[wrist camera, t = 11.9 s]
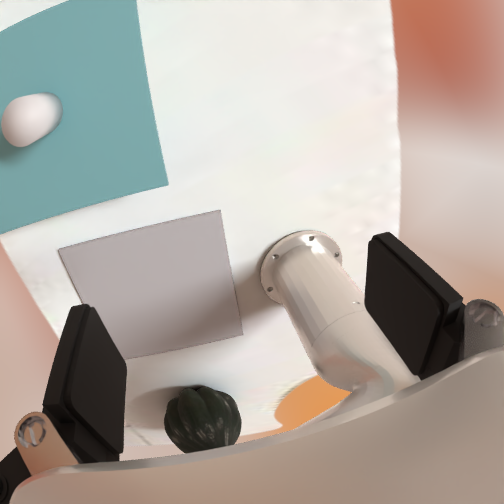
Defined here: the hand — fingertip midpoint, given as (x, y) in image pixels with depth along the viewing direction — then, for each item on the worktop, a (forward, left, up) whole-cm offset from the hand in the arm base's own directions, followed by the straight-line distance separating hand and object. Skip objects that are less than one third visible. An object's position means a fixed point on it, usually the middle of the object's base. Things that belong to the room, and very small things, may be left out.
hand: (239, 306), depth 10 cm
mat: (-8, +21, -29) cm, 37 cm away
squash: (-26, +41, -29) cm, 57 cm away
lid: (+14, +3, -22) cm, 27 cm away
